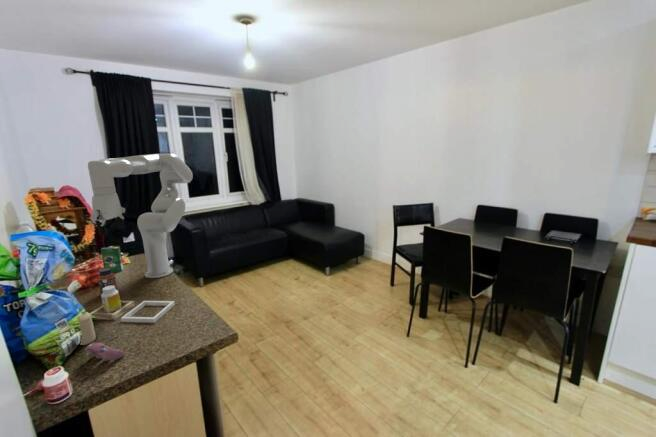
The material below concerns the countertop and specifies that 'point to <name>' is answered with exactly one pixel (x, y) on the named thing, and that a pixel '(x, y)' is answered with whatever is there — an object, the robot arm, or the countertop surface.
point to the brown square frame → (113, 316)
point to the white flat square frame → (128, 317)
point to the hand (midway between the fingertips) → (112, 231)
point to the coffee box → (112, 258)
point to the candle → (86, 328)
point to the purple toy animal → (103, 351)
